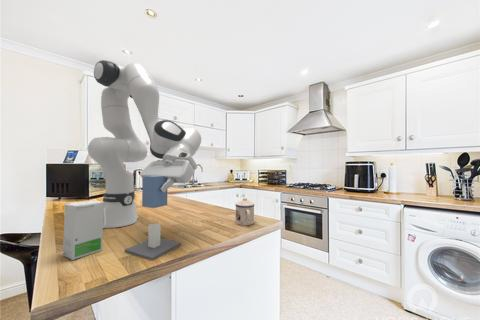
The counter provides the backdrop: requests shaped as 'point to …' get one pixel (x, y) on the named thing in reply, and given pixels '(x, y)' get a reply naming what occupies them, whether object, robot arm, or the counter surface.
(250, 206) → the teacup with lid
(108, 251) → the counter surface
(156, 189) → the blue block
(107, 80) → the robot arm
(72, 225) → the skincare box
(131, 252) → the post
